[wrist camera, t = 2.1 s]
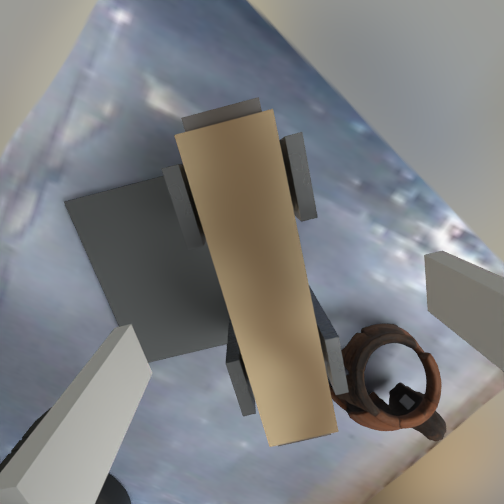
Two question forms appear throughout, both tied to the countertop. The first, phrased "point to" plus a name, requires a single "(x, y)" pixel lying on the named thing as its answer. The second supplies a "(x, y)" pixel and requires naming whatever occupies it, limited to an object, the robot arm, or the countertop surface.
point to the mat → (151, 269)
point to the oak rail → (259, 265)
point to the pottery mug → (401, 397)
